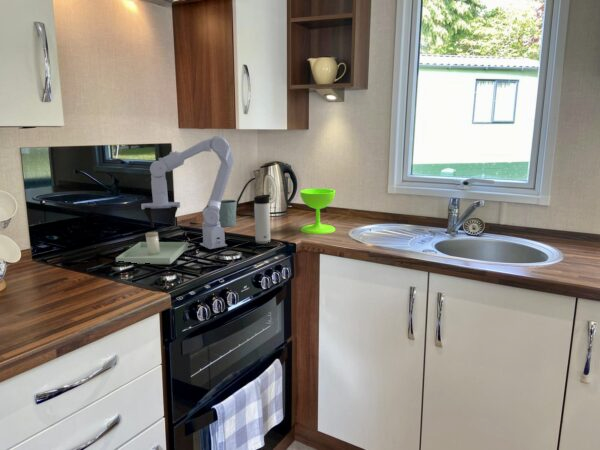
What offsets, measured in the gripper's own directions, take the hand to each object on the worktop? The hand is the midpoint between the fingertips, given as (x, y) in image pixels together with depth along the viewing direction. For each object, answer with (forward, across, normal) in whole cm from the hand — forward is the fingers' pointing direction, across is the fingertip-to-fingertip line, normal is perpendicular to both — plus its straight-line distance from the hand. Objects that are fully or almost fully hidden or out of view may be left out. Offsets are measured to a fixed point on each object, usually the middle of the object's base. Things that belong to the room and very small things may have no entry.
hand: (162, 226), depth 189 cm
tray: (+9, +3, +9) cm, 13 cm away
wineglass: (+10, -66, -20) cm, 70 cm away
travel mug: (+10, -40, -4) cm, 41 cm away
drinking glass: (+10, -24, -37) cm, 46 cm away
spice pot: (+9, +3, +8) cm, 12 cm away
